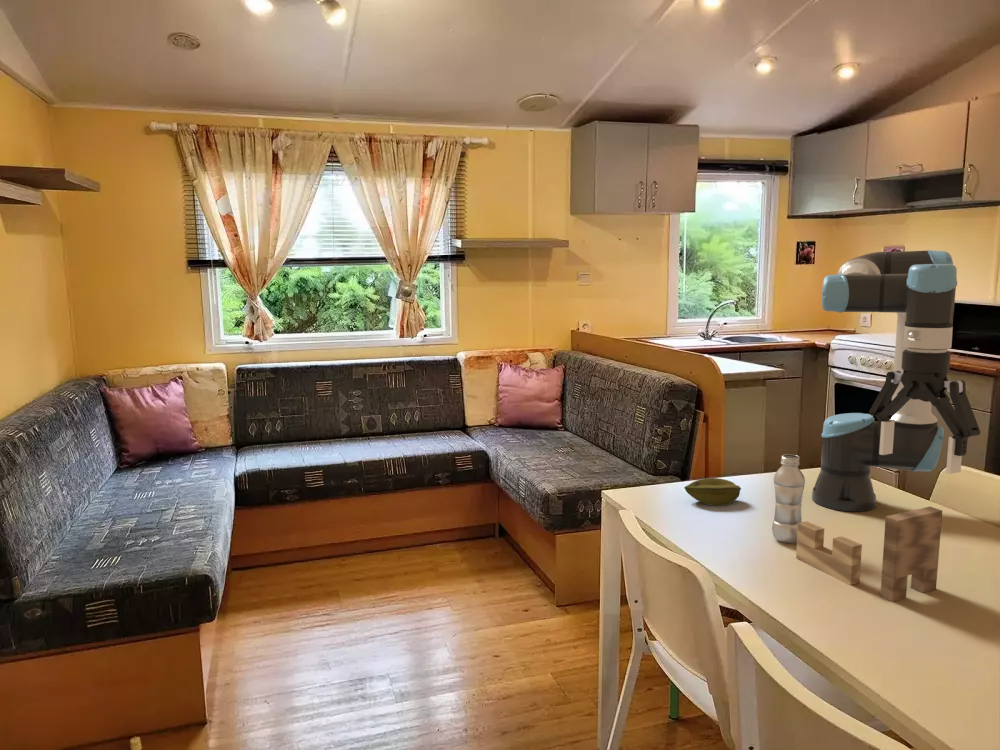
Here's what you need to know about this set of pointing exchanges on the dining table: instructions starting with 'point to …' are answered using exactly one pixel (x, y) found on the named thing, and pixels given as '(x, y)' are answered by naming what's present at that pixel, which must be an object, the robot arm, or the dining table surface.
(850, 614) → the dining table surface
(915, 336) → the robot arm
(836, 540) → the oak slot board
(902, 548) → the wooden flat notched block
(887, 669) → the dining table surface
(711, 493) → the fruit
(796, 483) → the plastic bottle
